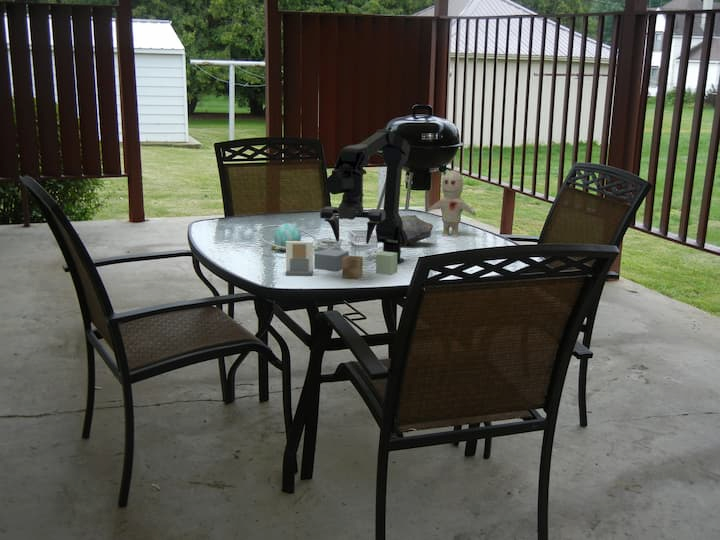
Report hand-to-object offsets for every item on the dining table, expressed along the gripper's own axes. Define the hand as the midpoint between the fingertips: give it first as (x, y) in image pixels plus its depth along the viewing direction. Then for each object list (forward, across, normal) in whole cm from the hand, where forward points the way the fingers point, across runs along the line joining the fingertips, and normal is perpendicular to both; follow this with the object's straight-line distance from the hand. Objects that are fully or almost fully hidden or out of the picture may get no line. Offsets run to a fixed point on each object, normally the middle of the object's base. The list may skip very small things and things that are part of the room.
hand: (352, 242), depth 230 cm
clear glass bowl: (+11, -31, +28) cm, 43 cm away
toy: (+11, +19, +72) cm, 75 cm away
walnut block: (+11, 0, 0) cm, 11 cm away
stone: (+11, +7, +52) cm, 53 cm away
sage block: (+11, +9, +9) cm, 16 cm away
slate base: (+11, -9, +10) cm, 17 cm away
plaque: (+11, -16, -1) cm, 19 cm away
